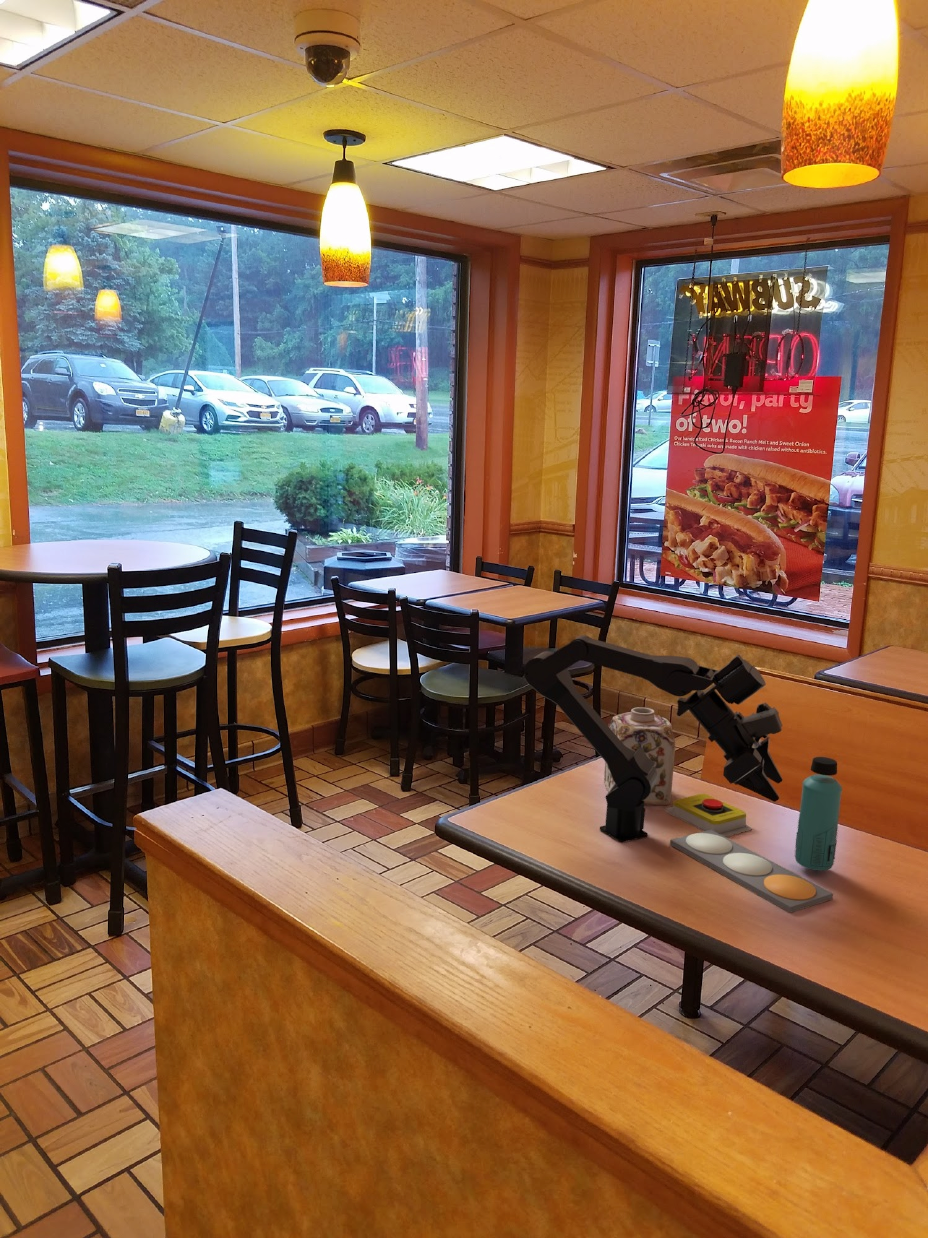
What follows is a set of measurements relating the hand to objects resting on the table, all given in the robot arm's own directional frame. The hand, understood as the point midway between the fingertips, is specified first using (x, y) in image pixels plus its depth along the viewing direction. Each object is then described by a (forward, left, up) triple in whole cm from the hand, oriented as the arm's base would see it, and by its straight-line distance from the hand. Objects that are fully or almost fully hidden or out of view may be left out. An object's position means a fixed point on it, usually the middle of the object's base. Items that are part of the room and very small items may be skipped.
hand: (778, 790), depth 161 cm
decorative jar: (-1, +35, -13) cm, 37 cm away
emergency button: (+3, +19, -14) cm, 24 cm away
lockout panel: (-6, 0, -13) cm, 15 cm away
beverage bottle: (+4, -5, -13) cm, 15 cm away
